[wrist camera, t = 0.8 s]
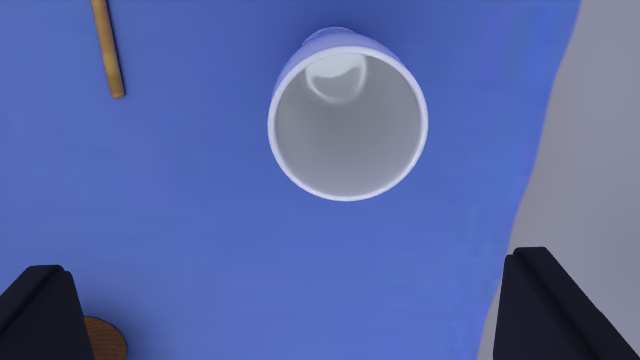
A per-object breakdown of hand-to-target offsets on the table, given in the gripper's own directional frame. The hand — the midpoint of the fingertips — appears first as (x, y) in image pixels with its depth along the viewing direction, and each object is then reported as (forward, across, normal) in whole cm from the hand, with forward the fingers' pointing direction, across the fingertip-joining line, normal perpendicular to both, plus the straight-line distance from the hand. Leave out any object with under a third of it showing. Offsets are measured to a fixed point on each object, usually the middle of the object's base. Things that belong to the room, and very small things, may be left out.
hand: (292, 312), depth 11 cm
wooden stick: (+26, +13, -6) cm, 30 cm away
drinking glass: (+26, -2, -1) cm, 26 cm away
